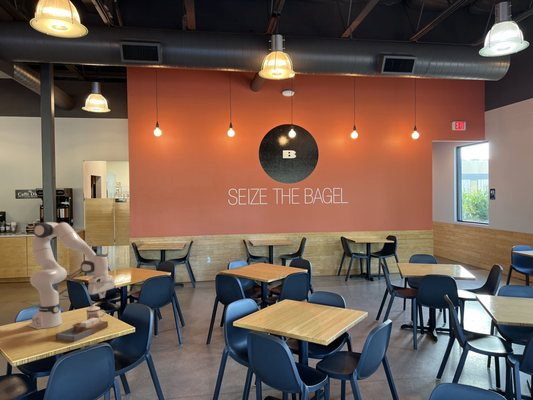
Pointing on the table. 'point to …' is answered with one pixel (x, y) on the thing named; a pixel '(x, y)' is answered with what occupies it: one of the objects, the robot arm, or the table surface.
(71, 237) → the robot arm
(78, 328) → the walnut board
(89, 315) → the teacup with lid
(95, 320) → the rear coaster
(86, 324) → the front coaster
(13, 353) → the table surface
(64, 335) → the tray
